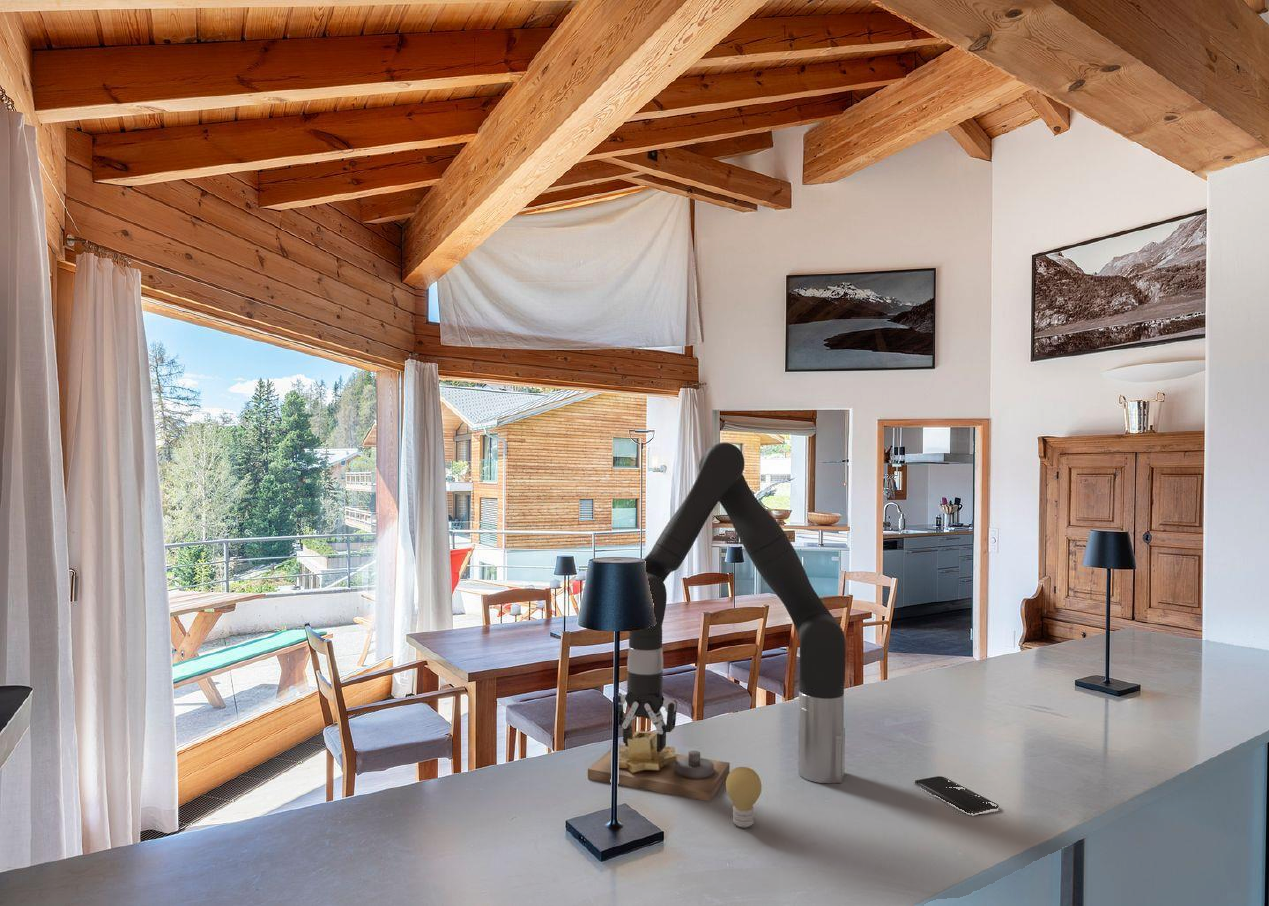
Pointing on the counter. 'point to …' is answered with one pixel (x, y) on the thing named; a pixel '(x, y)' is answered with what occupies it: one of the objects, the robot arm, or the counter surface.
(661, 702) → the robot arm
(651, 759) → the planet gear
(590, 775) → the wooden peg board
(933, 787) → the phone
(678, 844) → the counter surface
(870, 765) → the counter surface
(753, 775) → the light bulb
